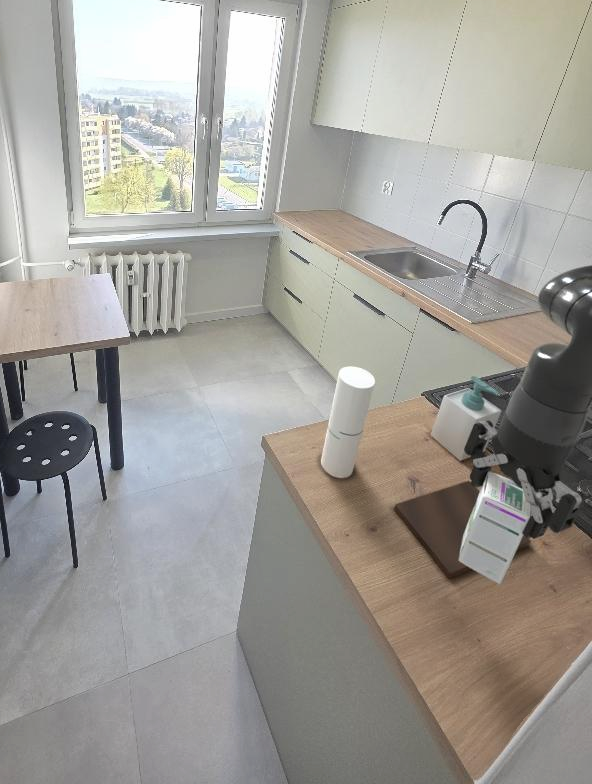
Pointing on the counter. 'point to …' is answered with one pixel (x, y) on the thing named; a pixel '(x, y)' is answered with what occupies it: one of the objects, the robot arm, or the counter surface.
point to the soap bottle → (463, 417)
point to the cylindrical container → (347, 420)
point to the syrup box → (495, 527)
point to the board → (443, 523)
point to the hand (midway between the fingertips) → (501, 508)
